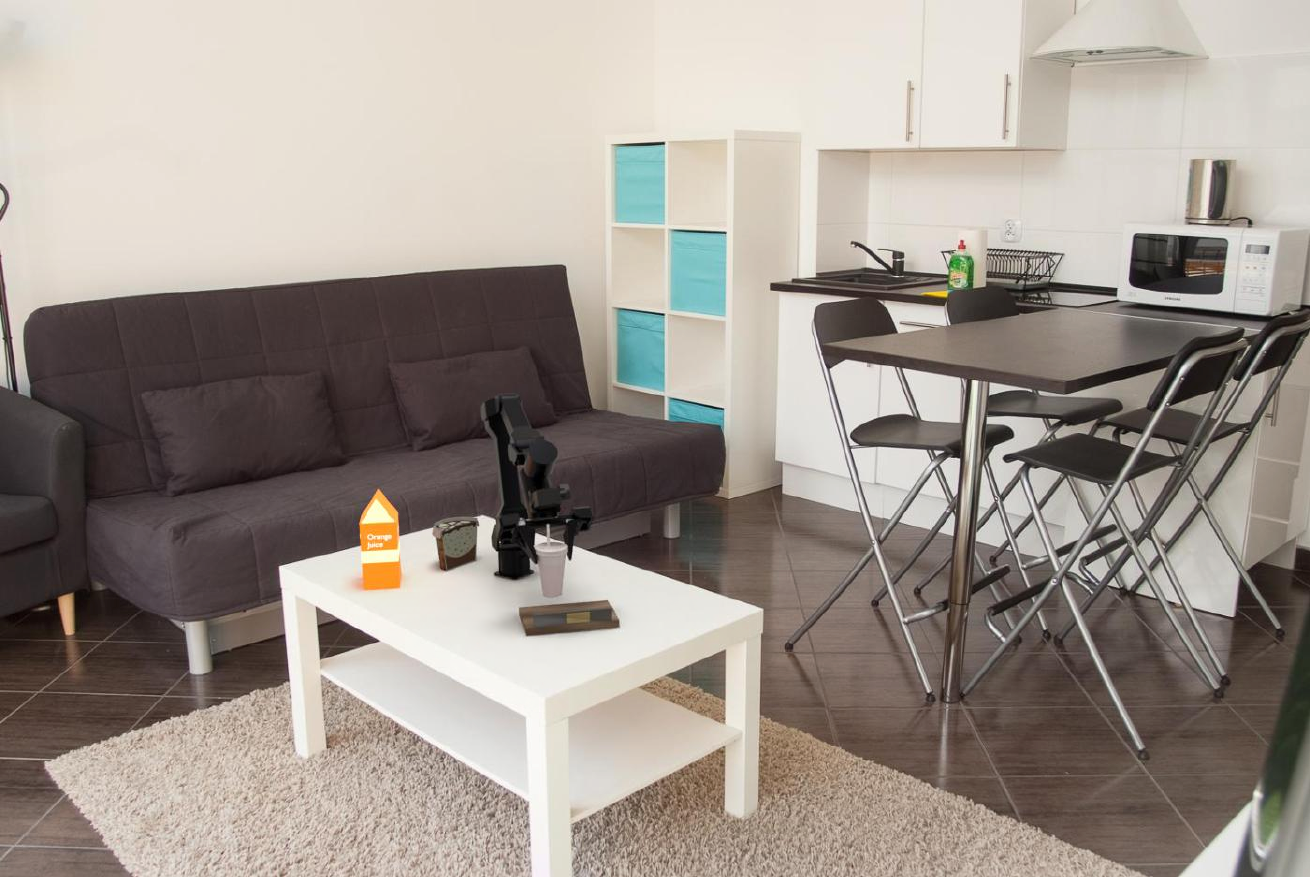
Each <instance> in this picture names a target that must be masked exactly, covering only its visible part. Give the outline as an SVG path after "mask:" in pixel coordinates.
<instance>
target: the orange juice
mask: <svg viewBox="0 0 1310 877" xmlns="http://www.w3.org/2000/svg"><path fill="white" fill-rule="evenodd" d="M399 528H400V526H399V512H398V511H397V510H396V509H395V507H394V506H393V505H392V504H391V502H390V501H389V500H388V499H387V497H386V496H385V495H384V494H383V493H382V492H381V490H380V488H378V489H377V491H376V493H375V494H374V495H373V497H372V498H371V500H370V502H369V503H368V505H367V506H366V508H365V509H364V510H363V512H362V514H361V517H360V521H359V537H360V550H361V551H360V555H361V565H362V566H361V567H362V569H361V570H362V579H363V580H362V582H363V591H372V590H373V591H376V590H387V589H388V590H389V589H392V590H393V589H400V588H401V580H402V565H401V544H400V542H401V541H400V539H401V538H400V529H399Z"/></svg>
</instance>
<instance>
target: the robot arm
mask: <svg viewBox="0 0 1310 877" xmlns="http://www.w3.org/2000/svg"><path fill="white" fill-rule="evenodd" d="M480 418H481V421H482V422H483V423H484V430H486V432H487V433H488V434H489V436H490V437H491V438H492V440H493V445H494V453H495V463H496V471H497V481H498V488H499V498H500V508H499V510H498V511H497V514H496V516H495V524H494V526H493V527H492V528H493V529H492V534H491V546H492V548H493V550H495V552H497V558H498V560H497V563H498V570H497V571H495V572H493V576H496V577H501V578H506V579H510V580H514V581H515V580H519V579H521V578H524V577H526V576H528V575H531V574H533V573H534V572H535V570H534V569H531V561H532V562H533V564H534V565H535V566H536V565H537V566H538V559H537V554H536V551H535V546H536V544H535V543H536V532H537V529H541V528H547V524H550V528H552V527H561V526H562V527H564V531H563V534H562V536H563V542H564V544H566V545H567V546H568V552H567V553H566V557H567V560H568V561H569V562H570V561H572V559H573V550H574V541H575V537H577V536H579V533H582V532H588V531H590V530H591V527H592V525H593V522H594V519H595V516H596V515H595V514H594V513H595V512H594V510H593V508H592V507H590V506H588V505H587V506H585V505H583V506H577V507H576V506H575V507H572V508H571V509H570V513H569V514H565V515H559V513H560V512H561V509H562V508H561V506H562V505H563V502H568V501H570V500H571V498H572V495H571V489H570V486H569V483H560V484H558V485H557V487H552V482H551V479H550V477H551V476H552V473H553V472H554V468H555V464H556V462H557V459H558V454H559V453H558V452H559V451H558V448H557V447H556V446H555V445H554V443H552V442H551V441H548V440H545V436H544V435H543V434H542V433H541V431H539V430H538V429H535V428H532V426H531V423H530V421H529V419H528V417H527V415H526V413H525V409H524V408H523V399H522V397H521V395H520V394H519V393H516V392H514V393H511V392H510V393H499V394H498V395H495V397H492V398H490V399H486V400H484V401H483V402H482V404H481V405H480ZM521 466H523V467H522V468H520V471H519V470H518V469H519V468H518V467H521ZM520 486H521V487H520ZM521 490H522V493H523V498H524V502H522V495H521V494H522V493H521ZM530 560H531V561H530Z"/></svg>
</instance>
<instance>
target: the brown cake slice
mask: <svg viewBox="0 0 1310 877" xmlns="http://www.w3.org/2000/svg"><path fill="white" fill-rule="evenodd" d="M478 527H480V523H479V520H478V517H474V516H456V517H449V518H444V519H441V520H438V521H436V522H435V523H434V526H433V527H432V528H433V529H432V533H431V534H432V536H433V537H434V538H435V542H436V548H437V557H438V562H439V568H440V570H441V571H443V572H450V571H453V570H455V569H458V568H461V567H464V566H466V565H468V564H472V563H474V562H477V547H478V545H477V544H478Z"/></svg>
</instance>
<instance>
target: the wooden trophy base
mask: <svg viewBox="0 0 1310 877" xmlns="http://www.w3.org/2000/svg"><path fill="white" fill-rule="evenodd" d="M518 615H519V619H520V621H521V625H522V627H523V630H524V633H525V636H526V637H529V636H542V635H543V636H544V635H551V634H552V635H553V634H562V633H573V632H583V631H595V630H605V629H606V630H607V629H618V627H619V628H620V618H619V617H618V615H617V613H616V610H614V608H613V606H612V605H611V603H610V601H609V599H603V600H593V601H592V600H590V601H580V602H578V601H577V602H570V603H569V602H568V603H565V602H564V603H556V604H547V605H545V604H544V605H533V606H531V605H530V606H522V607H518Z"/></svg>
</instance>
